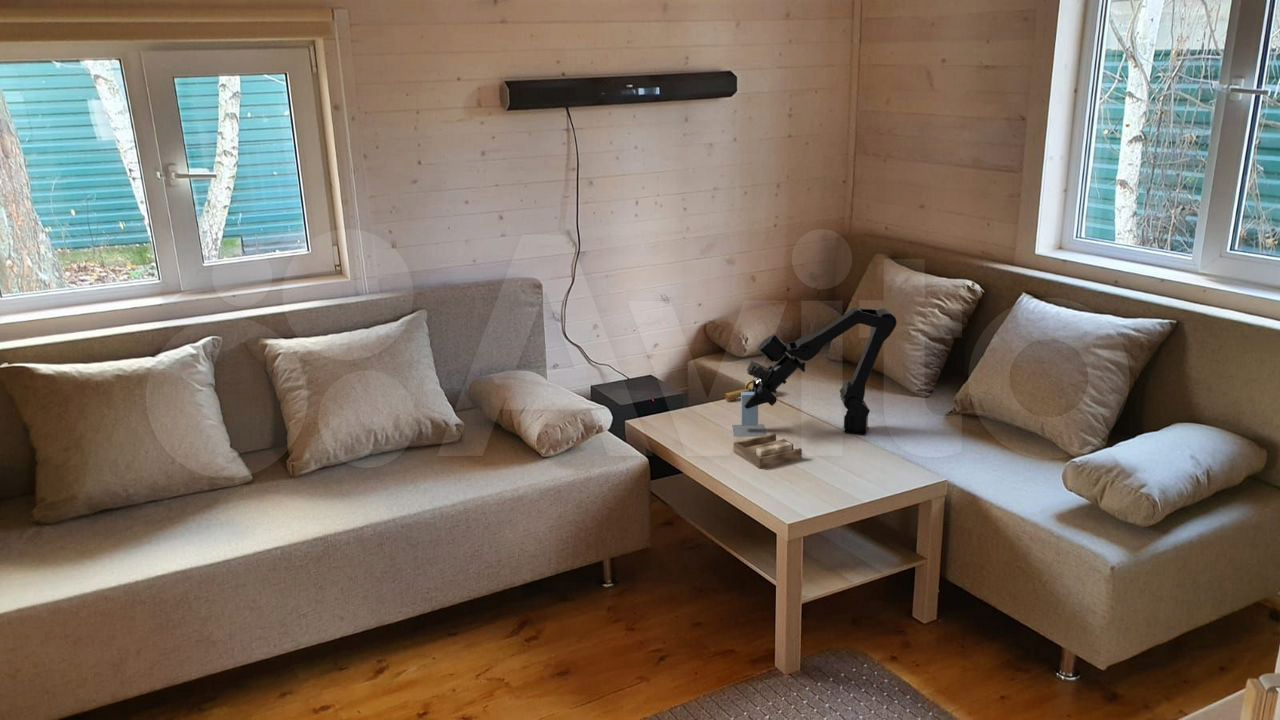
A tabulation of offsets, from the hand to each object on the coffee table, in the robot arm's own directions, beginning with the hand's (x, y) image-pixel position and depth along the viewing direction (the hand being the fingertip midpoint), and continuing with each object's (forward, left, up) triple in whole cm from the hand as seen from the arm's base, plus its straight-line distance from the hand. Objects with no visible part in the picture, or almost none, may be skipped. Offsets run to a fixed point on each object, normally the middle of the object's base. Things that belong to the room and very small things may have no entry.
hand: (745, 405), depth 297 cm
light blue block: (-1, -1, -6) cm, 6 cm away
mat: (-1, -1, -9) cm, 9 cm away
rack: (-12, +17, -9) cm, 22 cm away
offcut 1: (-13, +22, -8) cm, 27 cm away
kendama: (+8, -32, -9) cm, 34 cm away
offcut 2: (-17, +18, -8) cm, 26 cm away
